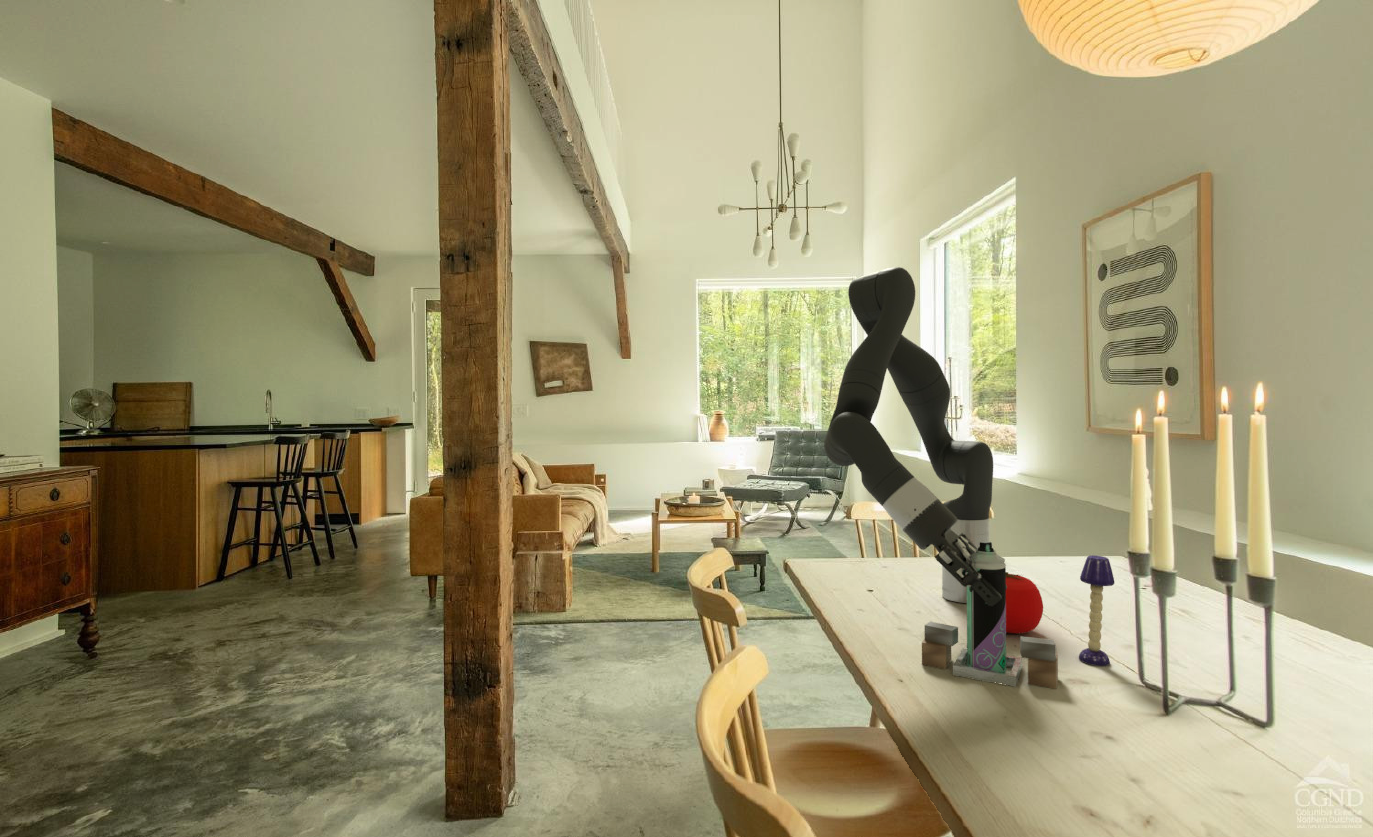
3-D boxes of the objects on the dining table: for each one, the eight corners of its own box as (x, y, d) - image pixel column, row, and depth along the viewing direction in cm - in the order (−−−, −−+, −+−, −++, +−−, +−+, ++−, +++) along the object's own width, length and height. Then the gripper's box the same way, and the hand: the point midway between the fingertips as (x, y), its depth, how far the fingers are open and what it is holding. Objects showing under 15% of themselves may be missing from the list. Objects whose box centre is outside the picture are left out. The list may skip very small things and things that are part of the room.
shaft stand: (921, 664, 108) (921, 627, 108) (928, 656, 112) (927, 620, 112) (1055, 689, 98) (1055, 648, 98) (1057, 678, 102) (1057, 639, 102)
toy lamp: (1110, 658, 110) (1110, 554, 110) (1117, 669, 105) (1117, 560, 105) (1076, 655, 111) (1076, 552, 111) (1082, 665, 107) (1082, 558, 107)
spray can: (989, 682, 101) (988, 547, 101) (959, 669, 106) (958, 540, 106) (1014, 675, 104) (1013, 543, 104) (983, 663, 109) (982, 537, 108)
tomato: (1051, 629, 124) (1051, 572, 124) (1031, 646, 116) (1031, 584, 116) (984, 616, 133) (983, 562, 132) (960, 631, 124) (960, 573, 124)
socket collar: (952, 675, 103) (952, 665, 103) (963, 657, 111) (963, 648, 111) (1015, 687, 99) (1015, 676, 99) (1022, 667, 106) (1022, 658, 106)
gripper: (926, 503, 102) (1013, 593, 96) (945, 492, 115) (1024, 572, 109) (890, 535, 105) (973, 624, 99) (912, 521, 117) (988, 600, 111)
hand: (999, 596), depth 104 cm, fingers open, 6 cm apart
